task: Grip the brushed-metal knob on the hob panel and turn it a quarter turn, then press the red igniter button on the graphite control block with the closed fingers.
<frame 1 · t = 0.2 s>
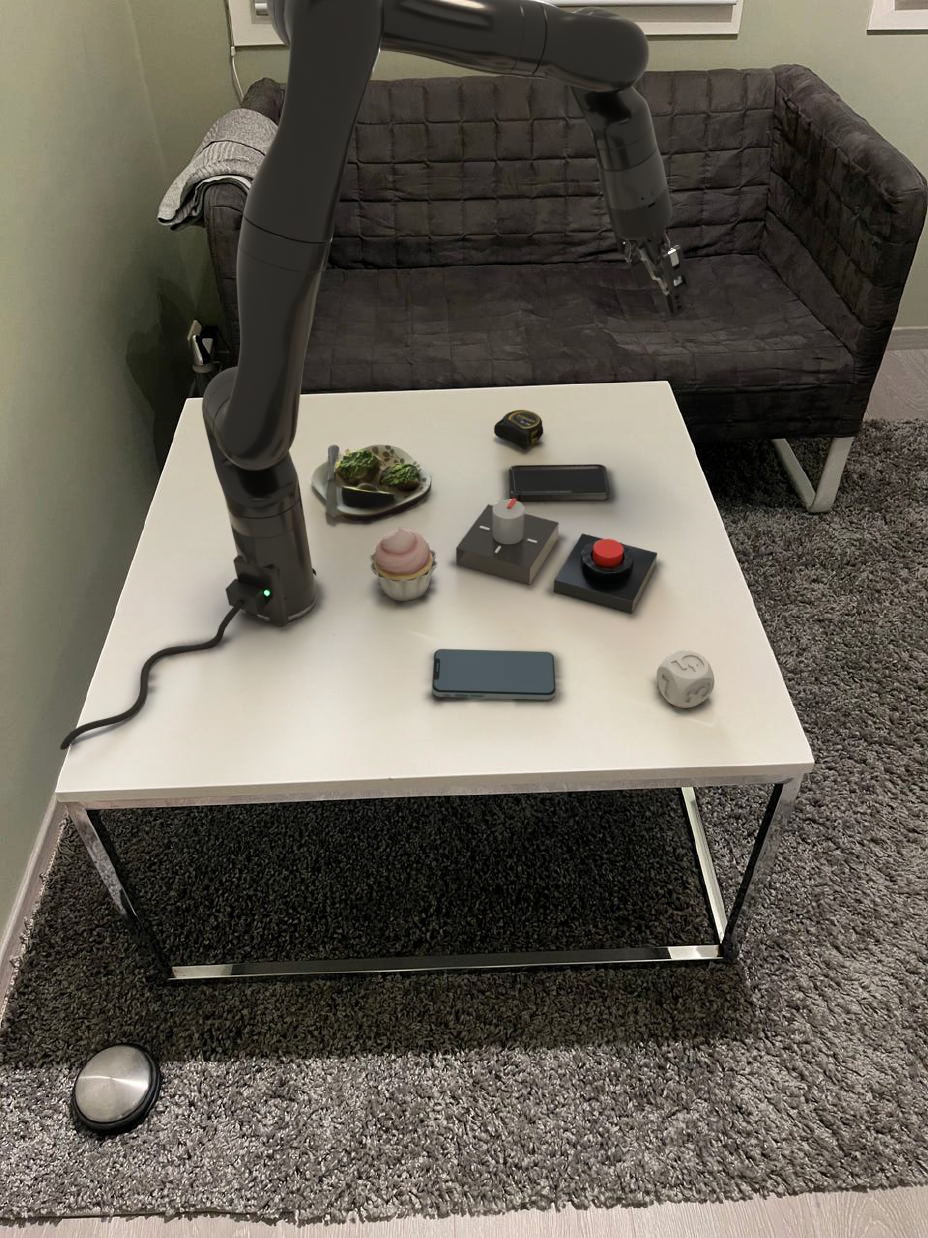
hand: (660, 298, 133), 31 cm above the table, tool tilted 20°, fingers open, 8 cm apart
hob panel: (507, 551, 144), on the table
die: (682, 694, 123), on the table
cupcake: (405, 587, 139), on the table
phone: (558, 486, 155), on the table
tape measure: (520, 442, 164), on the table
hob knob: (508, 521, 140), point 5 cm above the table, hinge at 0.0°
smartphone: (493, 679, 126), on the table
salad plate: (371, 490, 155), on the table
igniter: (605, 578, 139), on the table
igniter button: (607, 553, 136), point 4 cm above the table, slide at 0.1 cm
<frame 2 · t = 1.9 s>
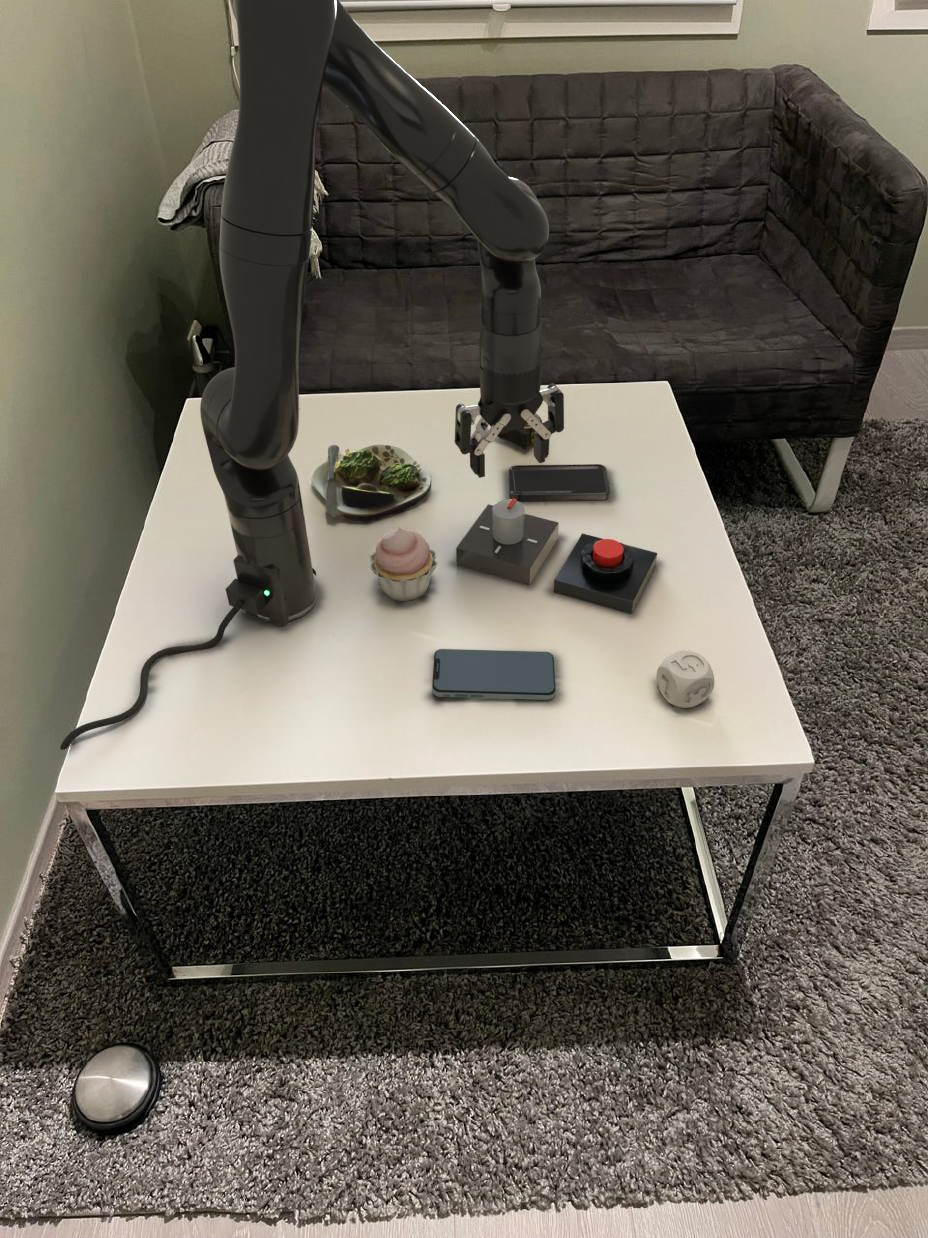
hand: (509, 466, 134), 14 cm above the table, tool pointing down, fingers open, 8 cm apart
nothing on the table moved.
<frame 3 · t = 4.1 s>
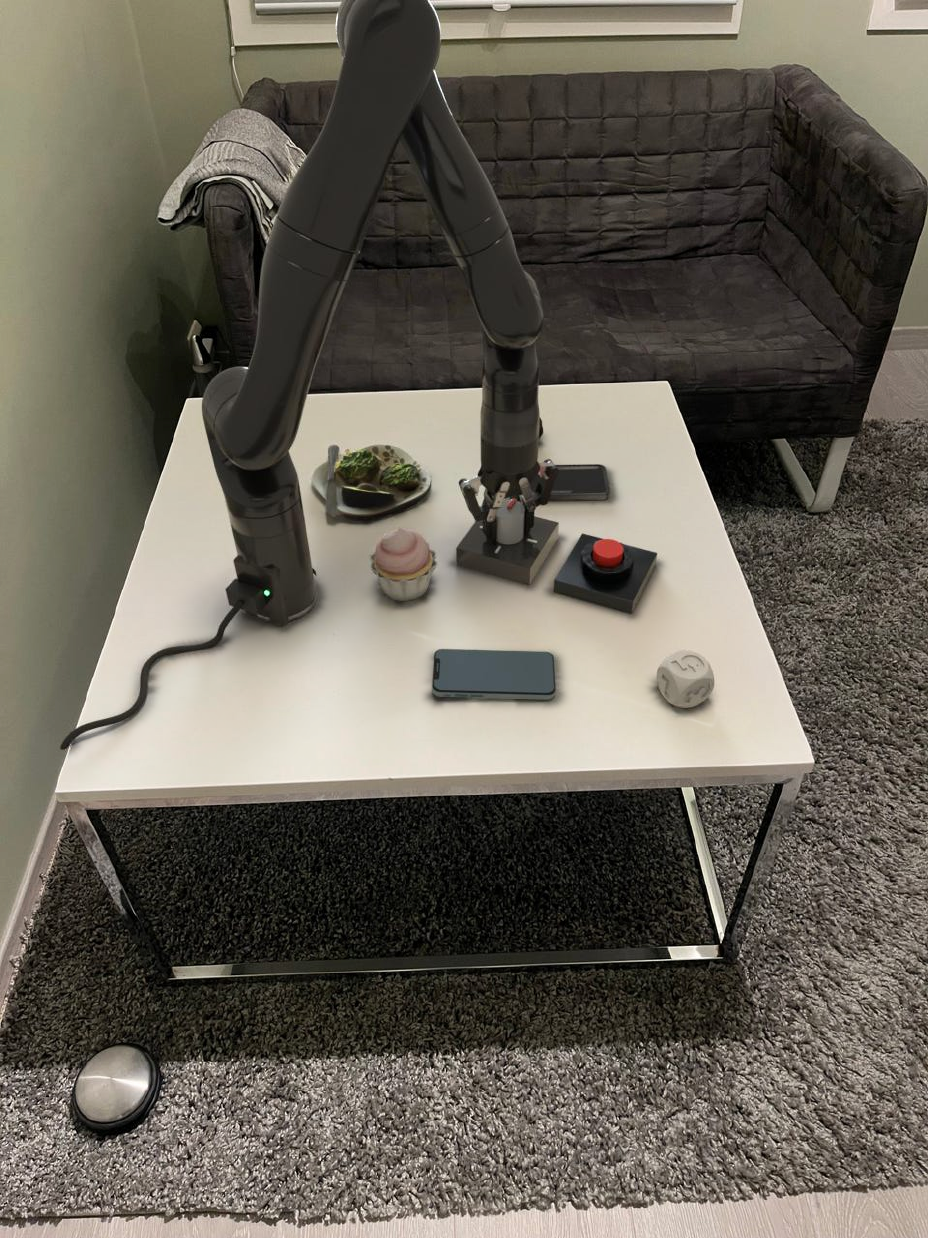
hand: (507, 533, 141), 3 cm above the table, tool pointing down, fingers closed on hob knob, 4 cm apart
hob knob: (508, 521, 140), point 5 cm above the table, hinge at -0.1°, touching gripper
everything else where it was.
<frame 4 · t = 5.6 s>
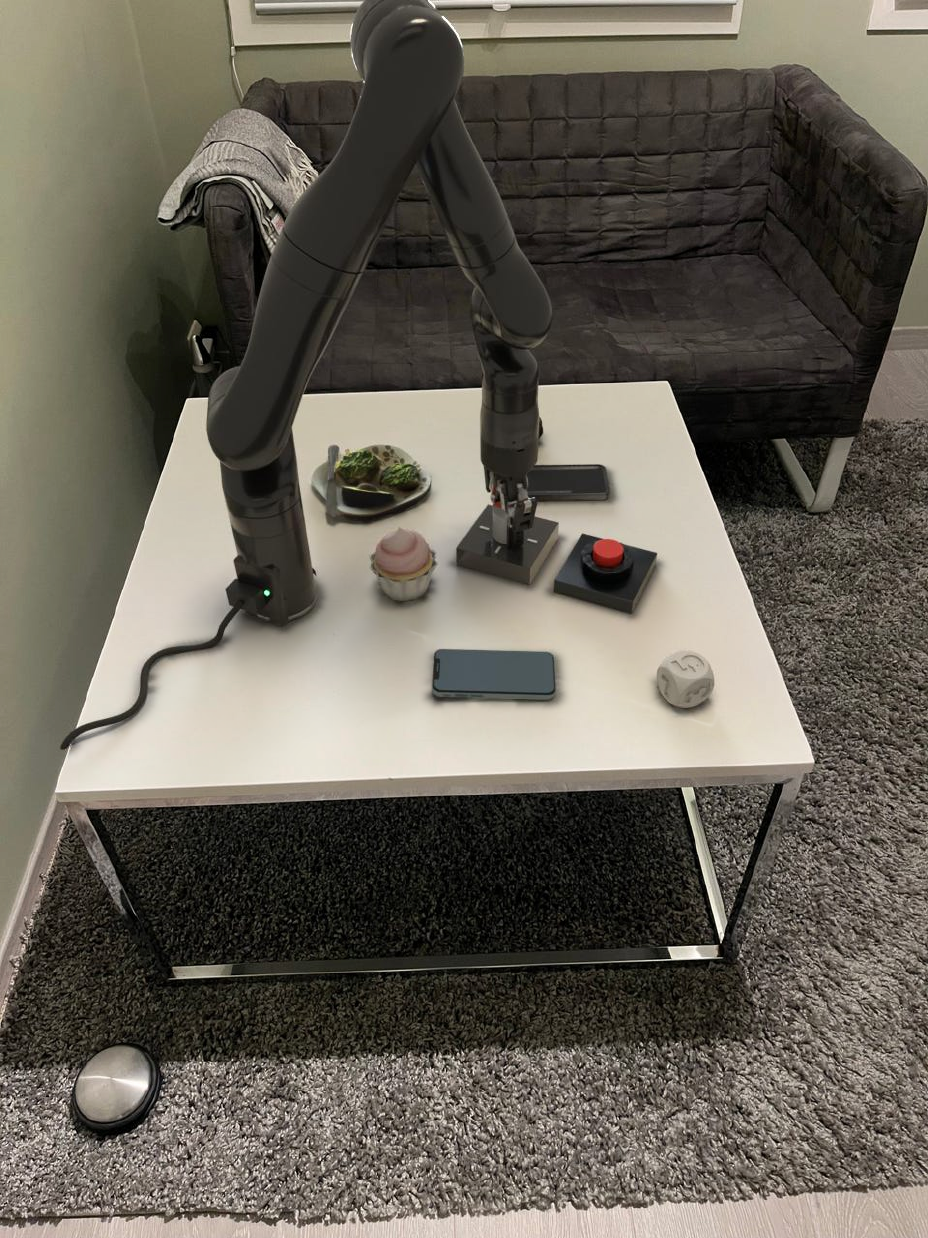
hand: (508, 534, 141), 3 cm above the table, tool pointing down, fingers open, 4 cm apart
hob knob: (508, 521, 140), point 5 cm above the table, hinge at 86.3°
everything else where it was.
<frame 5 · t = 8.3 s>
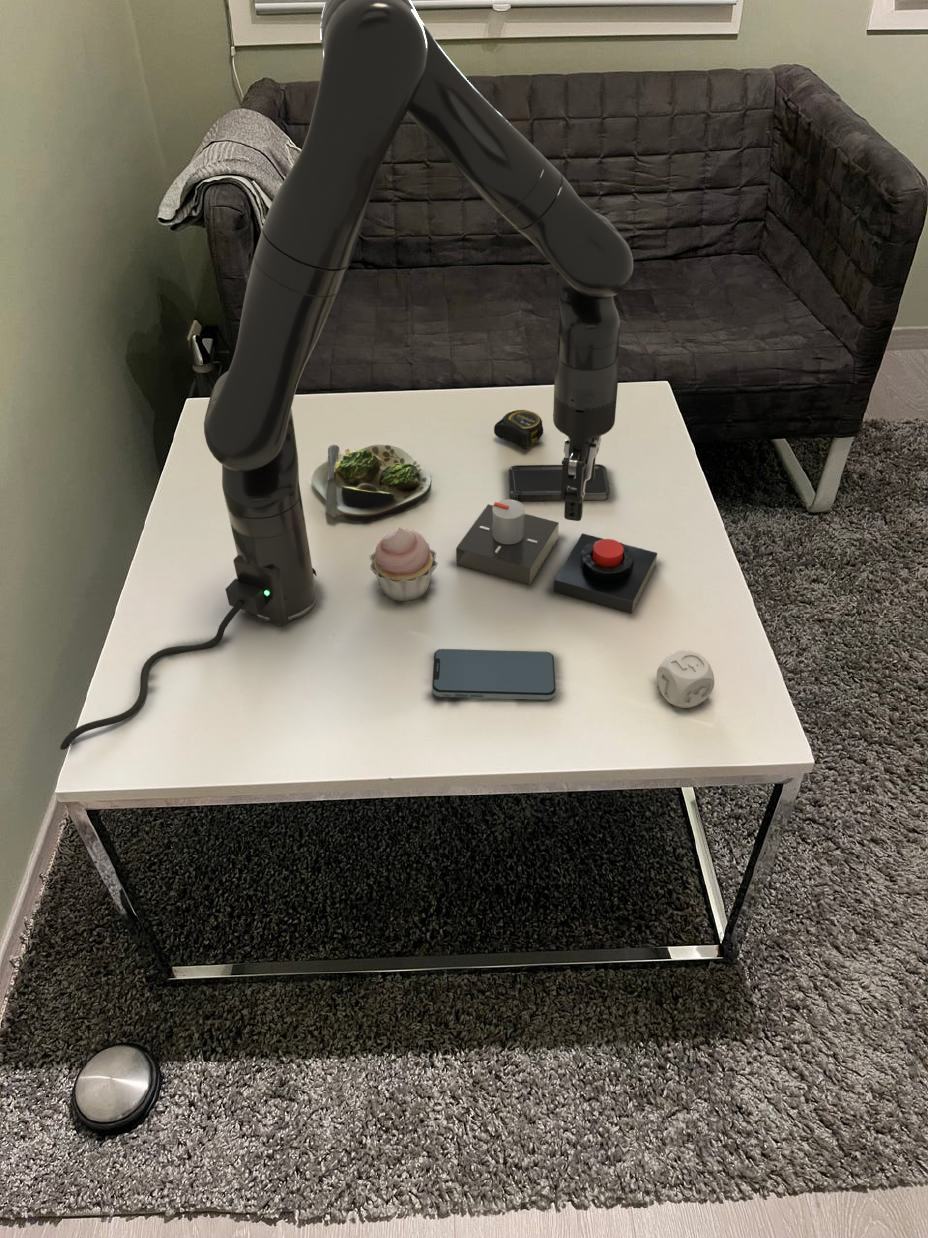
hand: (579, 499, 132), 12 cm above the table, tool pointing down, fingers open, 8 cm apart
nothing on the table moved.
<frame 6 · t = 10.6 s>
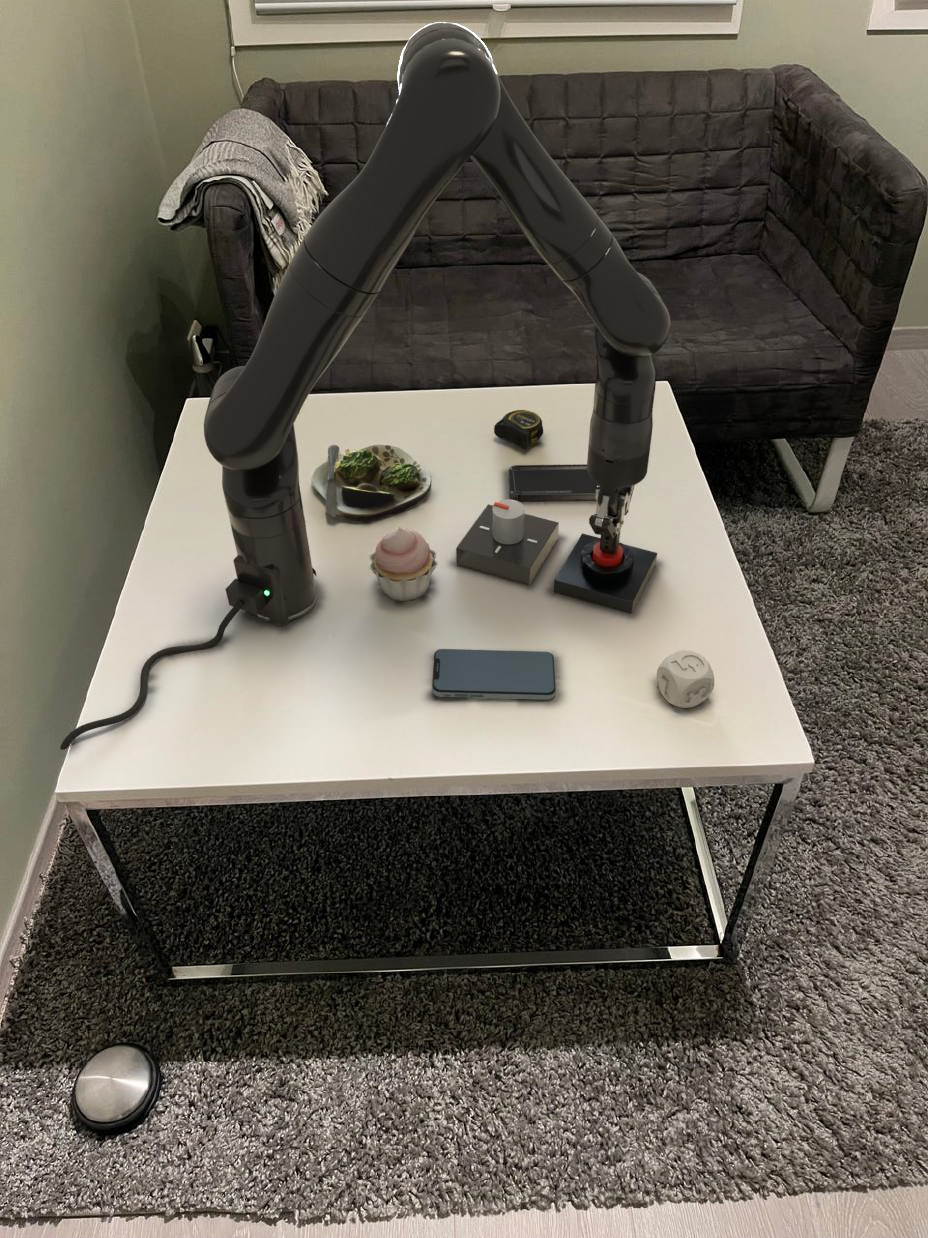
hand: (608, 549, 136), 5 cm above the table, tool pointing down, fingers closed
igniter button: (607, 554, 136), point 4 cm above the table, slide at -0.2 cm, touching gripper
everything else where it was.
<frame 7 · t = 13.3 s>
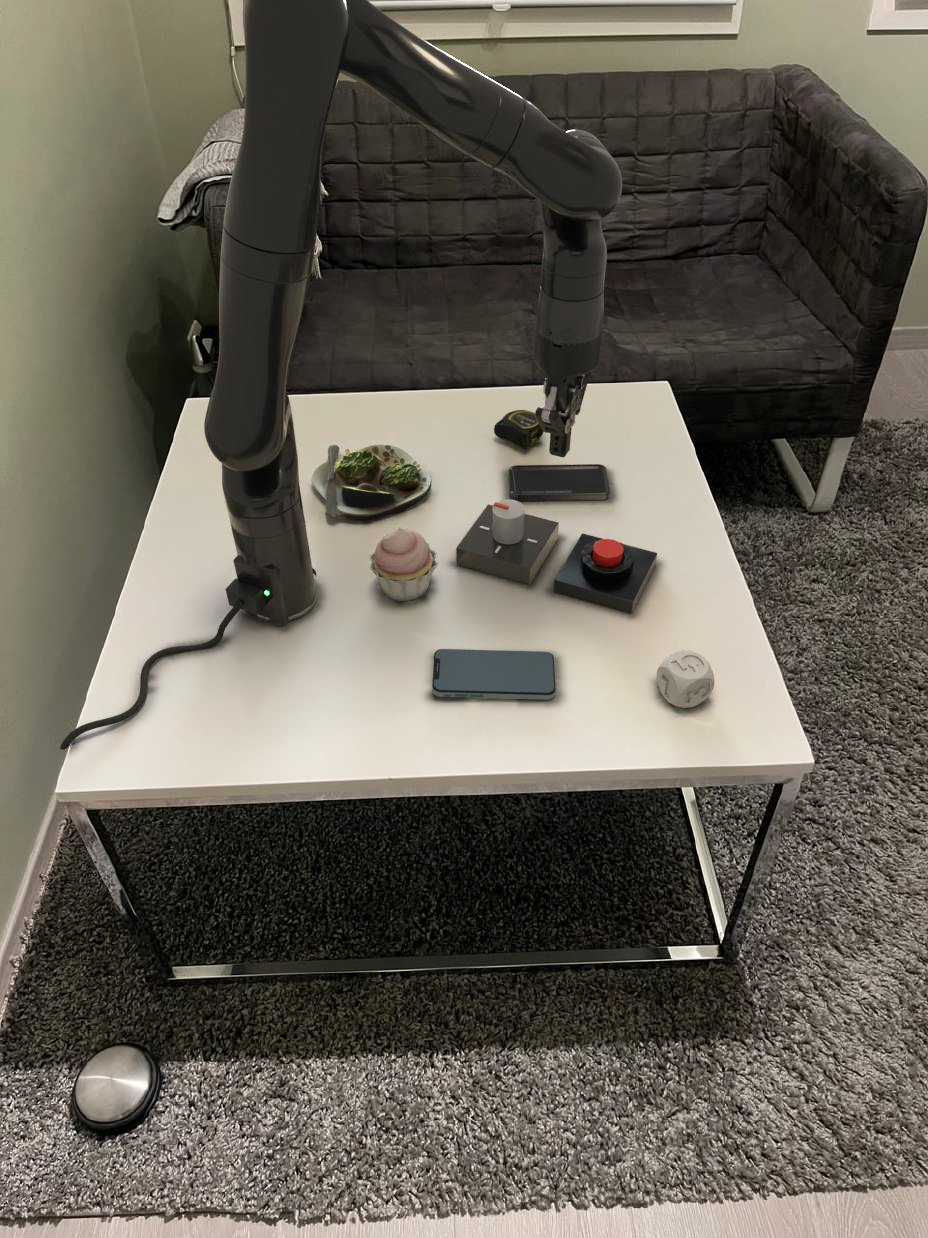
hand: (559, 453, 127), 20 cm above the table, tool pointing down, fingers closed
igniter button: (607, 553, 136), point 4 cm above the table, slide at 0.1 cm
everything else where it was.
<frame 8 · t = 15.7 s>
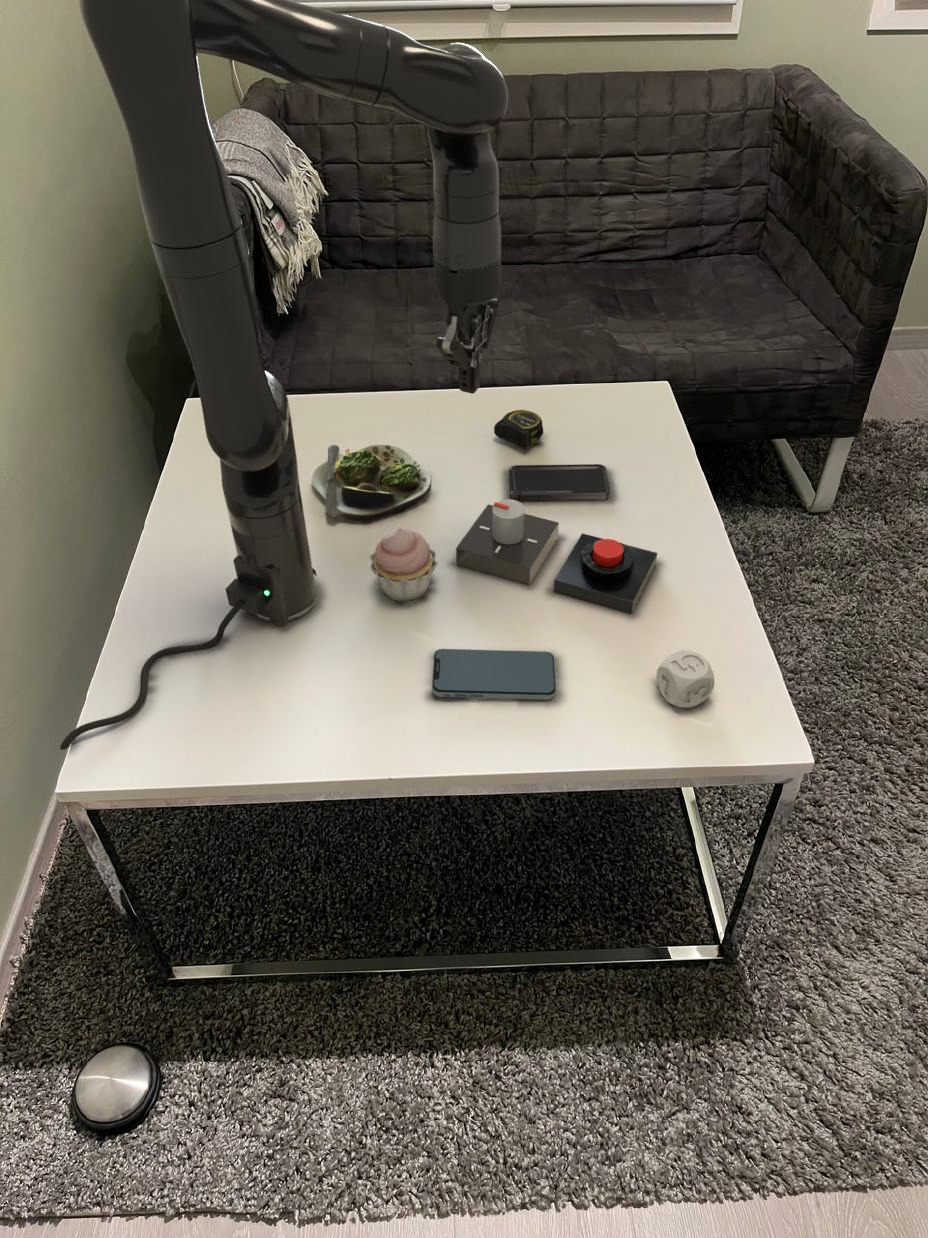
hand: (469, 389, 124), 27 cm above the table, tool pointing down, fingers closed
nothing on the table moved.
at the end: hob knob at +86° (first picture: +0°); igniter button pushed in 1.1 cm at the most during the clip, back to where it started at the end; igniter button slide at 0.1 cm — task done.
